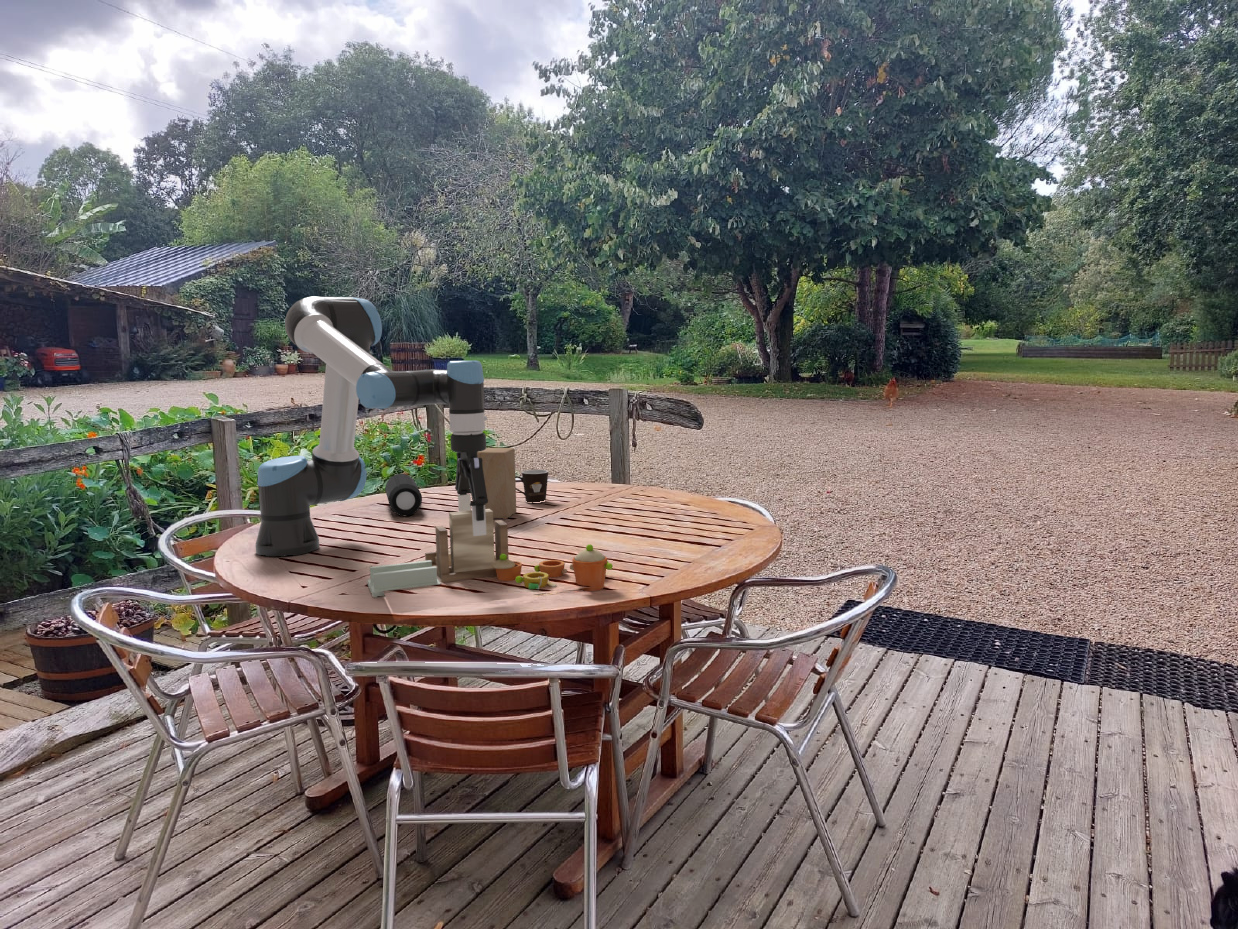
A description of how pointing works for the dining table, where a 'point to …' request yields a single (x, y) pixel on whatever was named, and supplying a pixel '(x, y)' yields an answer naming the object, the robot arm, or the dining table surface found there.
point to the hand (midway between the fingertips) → (472, 529)
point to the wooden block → (499, 480)
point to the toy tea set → (558, 570)
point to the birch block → (470, 543)
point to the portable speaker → (403, 495)
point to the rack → (444, 554)
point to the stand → (401, 576)
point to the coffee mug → (534, 485)
